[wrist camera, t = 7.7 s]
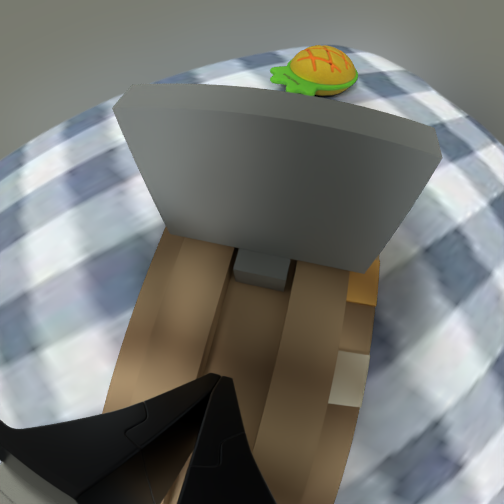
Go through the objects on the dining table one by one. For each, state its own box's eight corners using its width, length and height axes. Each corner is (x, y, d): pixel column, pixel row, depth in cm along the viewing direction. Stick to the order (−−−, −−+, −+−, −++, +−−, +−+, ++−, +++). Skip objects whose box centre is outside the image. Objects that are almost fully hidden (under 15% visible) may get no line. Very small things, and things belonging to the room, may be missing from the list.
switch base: (313, 536, 12) (322, 556, 9) (98, 475, 14) (75, 484, 11) (372, 255, 20) (387, 233, 17) (179, 216, 22) (170, 191, 19)
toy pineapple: (366, 95, 29) (375, 56, 24) (302, 125, 26) (307, 77, 21) (321, 69, 31) (326, 32, 26) (256, 93, 29) (255, 50, 24)
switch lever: (352, 305, 17) (448, 188, 7) (170, 266, 18) (93, 131, 8) (358, 245, 18) (428, 107, 9) (191, 212, 20) (147, 68, 10)
